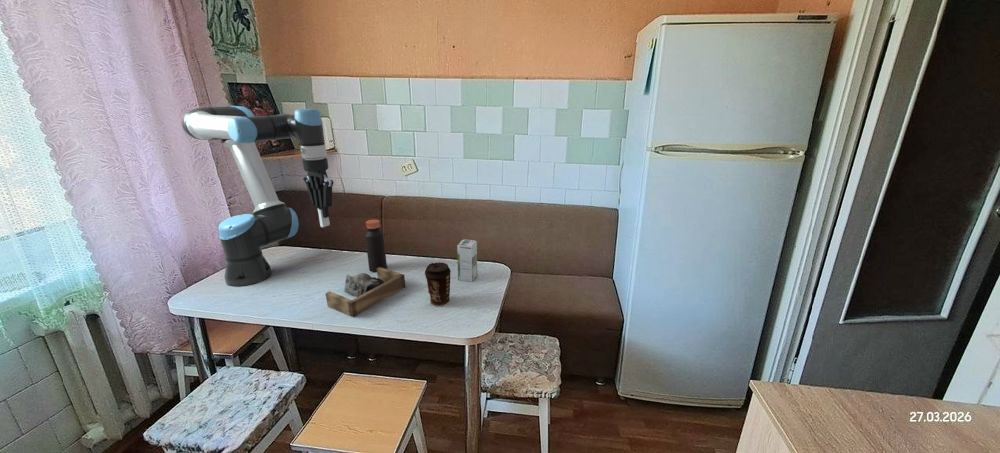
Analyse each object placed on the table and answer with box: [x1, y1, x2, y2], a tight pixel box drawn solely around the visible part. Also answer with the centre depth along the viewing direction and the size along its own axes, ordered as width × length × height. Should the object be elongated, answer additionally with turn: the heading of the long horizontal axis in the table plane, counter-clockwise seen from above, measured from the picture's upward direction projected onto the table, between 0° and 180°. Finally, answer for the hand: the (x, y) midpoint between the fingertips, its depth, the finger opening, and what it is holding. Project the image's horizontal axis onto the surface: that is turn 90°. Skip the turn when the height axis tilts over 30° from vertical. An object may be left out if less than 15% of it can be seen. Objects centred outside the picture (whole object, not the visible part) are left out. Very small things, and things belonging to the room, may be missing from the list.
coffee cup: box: [424, 261, 451, 308], centre depth 130 cm, size 9×8×13 cm
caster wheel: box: [343, 272, 384, 298], centre depth 139 cm, size 7×11×10 cm
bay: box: [325, 267, 407, 318], centre depth 135 cm, size 12×23×5 cm, turn 149°
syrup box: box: [456, 239, 478, 283], centre depth 146 cm, size 6×6×14 cm
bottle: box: [364, 219, 388, 274], centre depth 153 cm, size 7×7×20 cm
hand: (325, 225), depth 137 cm, fingers closed
